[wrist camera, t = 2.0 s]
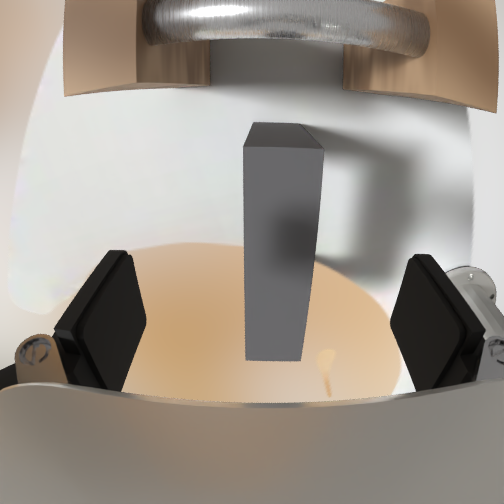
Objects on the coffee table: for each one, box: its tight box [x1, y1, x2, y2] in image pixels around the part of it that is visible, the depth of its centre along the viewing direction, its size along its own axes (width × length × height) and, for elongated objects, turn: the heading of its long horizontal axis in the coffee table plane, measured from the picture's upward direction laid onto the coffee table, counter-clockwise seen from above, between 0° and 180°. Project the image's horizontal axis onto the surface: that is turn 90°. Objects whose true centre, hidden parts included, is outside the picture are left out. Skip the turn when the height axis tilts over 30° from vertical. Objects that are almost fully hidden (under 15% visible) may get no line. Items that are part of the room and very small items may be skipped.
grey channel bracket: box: [243, 122, 324, 361], centre depth 21 cm, size 13×4×11 cm, turn 0°
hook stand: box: [63, 0, 499, 113], centre depth 14 cm, size 5×16×14 cm, turn 90°
